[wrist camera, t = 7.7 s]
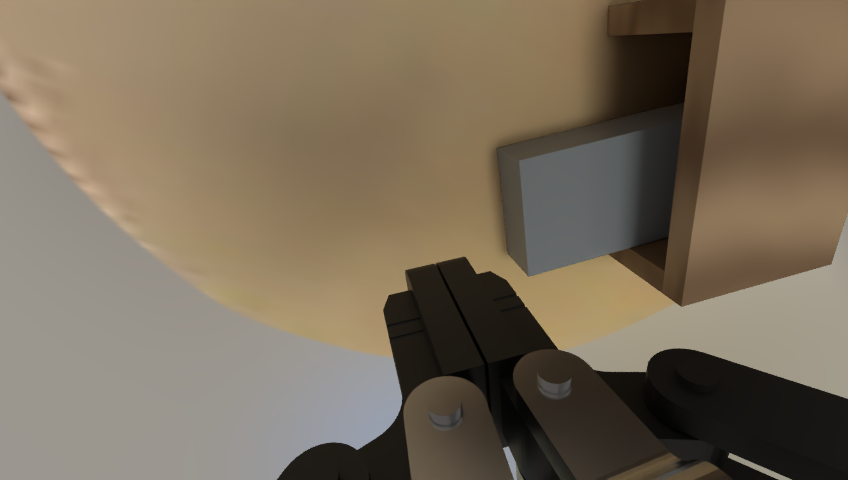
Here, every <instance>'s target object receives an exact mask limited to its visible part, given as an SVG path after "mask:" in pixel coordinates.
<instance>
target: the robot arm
mask: <svg viewBox="0 0 848 480" xmlns="http://www.w3.org/2000/svg"><path fill="white" fill-rule="evenodd" d="M405 275H406V281H407V287H408V291H405V292H400V293H396V294H392V295H389V296H388V299H387V301H386V304H385V307H384V309H383V312H384V316H385V321H386V325H387V330H388V335H389V339H390V344H391V349H392V353H393V358H394V362H395V366H396V371H397V375H398V380H399V384H400V389H401V393H402V405H401V409H400V412H399V414H398V416H397V418H396V419H395V421H394V423H393V424H392V425H391V426H390V427H389V428H388V429H387V430H386V431H385V432H384V433H383V434H382V435H380V436H379V437H377V438H376V439H374V440H373V441H371V442H370V443H368V444H366V445H365V446H363V447H362V448H360V449H358V450H356V449H355V448H353V447H351V446H349V445H347V444H343V443H326V444H321V445H318V446H315V447H313V448H310V449H308V450H307V451H305V452H303V453H302V454H300V455H299V456H298V457H296V458H295V459H294V460H293V461H292V462H291V463H290V464H289V465H288V466H287V468H286V469H285V470H284V471H283V472H282V474H281V475H280V476H279V478H278V479H277V480H514V479H513V476H512V473H511V470H510V467H509V464H508V461H507V459H506V456H505V453H504V450H503V448H504V447H507V446H509V448H510V450H511V453H512V455H513V457H514V459H515V461H516V469H517V470H516V472H517V480H778V479H775V478H773V477H771V476H769V475H766V474H764V473H762V472H759V471H757V470H755V469H753V468H750V467H748V466H746V465H743V464H741V463H739V462H736V461H734V460H732V459H730V458H728V455H729V453H732V454H734V455H737V456H739V457H741V458H743V459H746V460H748V461H750V462H753V463H755V464H757V465H760V466H762V467H764V468H767V469H769V470H771V471H774V472H776V473H778V474H780V475H783V476H785V477H788V478H790V479H792V480H848V399H846V398H843V397H840V396H837V395H834V394H831V393H827V392H824V391H821V390H818V389H815V388H812V387H809V386H806V385H803V384H800V383H796V382H793V381H790V380H787V379H784V378H781V377H778V376H774V375H772V374H768V373H765V372H762V371H759V370H756V369H753V368H750V367H747V366H744V365H740V364H737V363H734V362H731V361H728V360H725V359H722V358H719V357H715V356H712V355H709V354H706V353H703V352H699V351H695V350H690V349H669V350H664V351H661V352H659V353H657V354H656V355H654V356H653V357H652V358H651V359H650V361H649V362H648V366H647V371H646V372H603V371H596V370H593V369H592V368H591V367H590V366H589V365H588V364H587V363H586V362H585V361H584V360H582V359H581V358H579V357H578V356H576V355H574V354H571V353H569V352H565V351H561V350H558V349H557V347H556V346H555V345H554V343H553V342H552V341H551V339H550V338H549V337H548V335H547V334H546V333H545V331H544V330H543V329H542V327H541V326H540V325H539V323H538V322H537V321H536V319H535V318H534V316H533V315H532V314H531V312H530V311H529V310H528V308H527V307H525V305H524V303H523V302H522V300H521V299H520V298H519V296H517V295H516V292H515V291H514V290H513V288H512V287H511V286H510V284H509V283H508V282H507V280H505V279H503V278H501V277H499V276H498V275H496V274H494V273H492V272H491V271H489V272H485V273H481V274H476V272H475V271H474V269H473V268H472V266H471V264H470V263H469V261H468V260H467V258H466V257H461V258H456V259H452V260H447V261H443V262H439V263H436V265H435V264H430V265H426V266H422V267H417V268H413V269H408V270H405Z"/></svg>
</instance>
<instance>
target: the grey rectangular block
mask: <svg viewBox="0 0 848 480" xmlns="http://www.w3.org/2000/svg"><path fill="white" fill-rule="evenodd" d="M684 103H685V102H683V103H679V104H675V105H671V106H666V107H662V108H658V109H654V110H650V111H646V112H642V113H638V114H634V115H630V116H625V117H621V118H617V119H613V120H609V121H605V122H601V123H597V124H593V125H589V126H584V127H580V128H576V129H572V130H568V131H564V132H560V133H556V134H552V135H548V136H543V137H539V138H535V139H531V140H527V141H523V142H519V143H515V144H511V145H507V146H502V147H498V148H497V153H498V163H499V173H500V182H501V192H502V202H503V211H504V221H505V230H506V240H507V250H508V254H509V256H510V257H511V258H512V259H513V260H514V261H515V262H516V263H517V264H518V266H519V267H520V268H521V269H522V270H523V271H524V272H525V273H526V274H527V276H528V277H529V276H533V275H536V274H540V273H543V272H547V271H550V270H554V269H557V268H561V267H564V266H568V265H571V264H575V263H578V262H582V261H586V260H589V259H593V258H596V257H600V256H603V255H607V254H610V253H614V252H617V251H621V250H624V249H628V248H631V247H635V246H638V245H642V244H645V243H649V242H652V241H656V240H659V239H663V238H667V237H669V230H670V222H671V213H672V205H673V196H674V188H675V179H676V171H677V162H678V154H679V145H680V137H681V128H682V120H683V111H684Z"/></svg>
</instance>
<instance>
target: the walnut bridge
mask: <svg viewBox="0 0 848 480" xmlns="http://www.w3.org/2000/svg"><path fill="white" fill-rule="evenodd" d="M683 32H693V35H692V44H691V52H690V61H689V69H688V78H687V86H686V94H685V103H684V111H683V120H682V128H681V137H680V145H679V154H678V162H677V171H676V179H675V188H674V196H673V205H672V213H671V222H670V230H669V237H667V238H663V239H659V240H656V241H652V242H649V243H645V244H642V245H638V246H635V247H631V248H628V249H624V250H621V251H617V252H614V253H610V254H609V255H610V256H611V257H613V258H614V259H616V260H617V261H618V262H620V263H621V264H623V265H624V266H625V267H627V268H628V269H630V270H631V271H632V272H634V273H635V274H637V275H638V276H639V277H641V278H642V279H643V280H645V281H646V282H648V283H649V284H650V285H652V286H653V287H655V288H656V289H657V290H659V291H660V292H662V293H663V294H664V295H666V296H667V297H669V298H670V299H671V300H673V301H674V302H675V303H677V304H678V305H680V306H681V307H682V306H685V305H689V304H692V303H696V302H700V301H703V300H707V299H710V298H714V297H717V296H721V295H724V294H728V293H731V292H735V291H738V290H742V289H745V288H749V287H752V286H756V285H760V284H763V283H766V282H770V281H773V280H777V279H781V278H784V277H788V276H791V275H795V274H798V273H802V272H805V271H809V270H812V269H816V268H819V267H823V266H826V265H830V264H831V263H832V260H833V257H834V254H835V251H836V248H837V245H838V242H839V238H840V235H841V232H842V229H843V226H844V223H845V220H846V217H847V214H848V0H643V1H638V2H632V3H626V4H621V5H615V6H609V14H608V36H618V35H640V34H661V33H683Z"/></svg>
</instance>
